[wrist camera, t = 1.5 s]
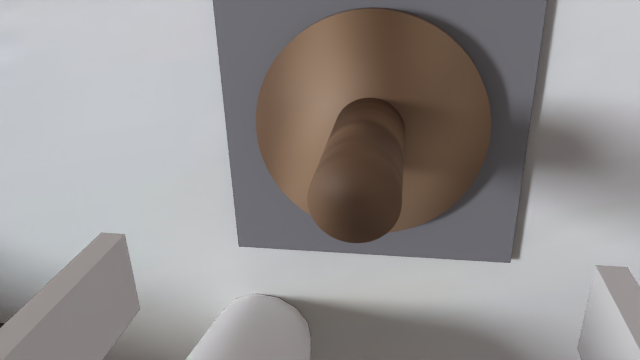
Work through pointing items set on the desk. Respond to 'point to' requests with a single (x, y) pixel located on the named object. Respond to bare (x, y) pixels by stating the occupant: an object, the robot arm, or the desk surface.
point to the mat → (504, 146)
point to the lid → (373, 122)
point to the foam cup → (256, 332)
